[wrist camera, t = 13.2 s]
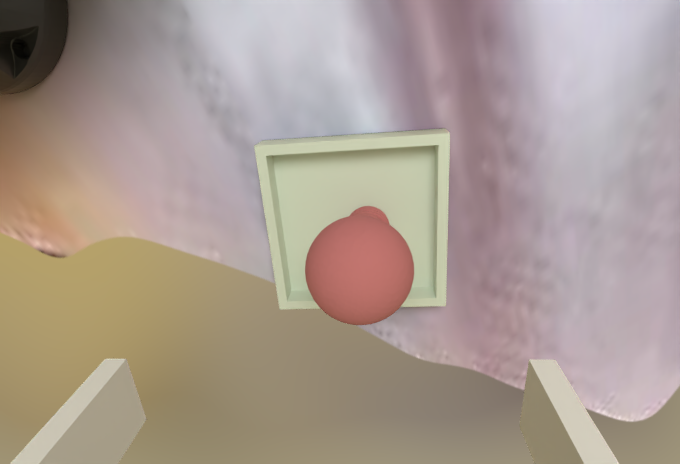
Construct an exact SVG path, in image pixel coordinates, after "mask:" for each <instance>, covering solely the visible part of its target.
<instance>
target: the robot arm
mask: <svg viewBox="0 0 680 464" xmlns="http://www.w3.org/2000/svg"><path fill="white" fill-rule="evenodd" d="M66 32H67V2H66V0H0V94H11V93H17V92H21V91H24V90H27V89H29V88H31V87H33V86H35V85H36V84H38V83H39V82H40V81H42V80H43V79H44V78H45V77H46V76H47V75H48V74H49V73H50V72H51V70H52V69H53V68H54V66H55V64H56V63H57V61H58V59H59V57H60V55H61V52H62V49H63V46H64V43H65V38H66ZM145 421H146V417H145V413H144V410H143V407H142V404H141V401H140V398H139V396H138V392H137V389H136V386H135V383H134V380H133V377H132V374H131V371H130V368H129V365H128V362H127V359H105V360H104V361H103V362H102V363H101V364H100V365H99V366H98V367H97V369H96V370H95V371H94V372H93V373H92V374H91V375H90V376H89V377H88V378H87V380H86V381H85V382H84V383H83V384H82V385H81V386H80V387H79V388H78V389H77V390H76V392H75V393H74V394H73V395H72V396H71V397H70V398H69V399H68V400H67V401H66V403H65V404H64V405H63V406H62V407H61V408H60V409H59V410H58V411H57V413H56V414H55V415H54V416H53V417H52V418H51V419H50V420H49V421H48V422H47V424H46V425H45V426H44V427H43V428H42V429H41V430H40V431H39V432H38V433H37V435H36V436H35V437H34V438H33V439H32V440H31V441H30V442H29V443H28V445H27V446H26V447H25V448H24V449H23V450H22V451H21V452H20V453H19V454H18V456H17V457H16V458H15V459H14V460H13V461H12V462H11V463H10V464H118V463H119V462H120V460H121V459H122V457H123V455H124V454H125V452H126V451H127V449H128V447H129V446H130V444H131V443H132V441H133V440H134V438H135V437H136V435H137V433H138V432H139V430H140V429H141V427H142V426H143V424H144V422H145ZM519 426H520V429H521V431H522V434H523V436H524V439H525V441H526V444H527V446H528V448H529V451H530V453H531V456H532V458H533V461H534V463H535V464H619V463H618V461H617V460H616V458H615V456H614V455H613V453H612V452H611V450H610V448H609V447H608V445H607V443H606V442H605V440H604V438H603V437H602V435H601V434H600V432H599V430H598V429H597V427H596V426H595V424H594V422H593V421H592V419H591V417H590V416H589V414H588V412H587V411H586V409H585V408H584V406H583V404H582V403H581V401H580V399H579V398H578V396H577V395H576V393H575V391H574V390H573V388H572V386H571V385H570V383H569V382H568V380H567V378H566V377H565V375H564V373H563V372H562V370H561V369H560V367H559V365H558V364H557V362H556V361H555V360H529V364H528V371H527V377H526V384H525V391H524V398H523V404H522V411H521V417H520V424H519Z"/></svg>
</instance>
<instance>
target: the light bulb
mask: <svg viewBox="0 0 680 464" xmlns="http://www.w3.org/2000/svg"><path fill="white" fill-rule="evenodd" d="M305 276H306V282H307V286H308V289H309V291H310V293H311V295H312V297H313V299H314V301H315V302H316V303H317V305H318V306H319V307H320V308H321V309H322V310H323V311H324V312H325V313H326V314H328V315H329V316H331V317H332V318H334V319H336V320H339V321H341V322H344V323H347V324H352V325H366V324H372V323H376V322H379V321H381V320H383V319H386V318H387V317H389V316H390V315H392V314H393V313H394V312H395V311H397V310H398V309H399V308H400V307H401V305H402V304H403V303H404V301H405V300H406V298H407V297H408V295H409V293H410V290H411V287H412V283H413V279H414V262H413V257H412V254H411V251H410V249H409V246H408V244H407V242H406V241H405V239H404V238H403V237H402V235H401V234H400V233H399V232H398V231H397V230H396V229H395V228H393V227H392V226H391V225H390V224H389V220H388V218H387V217H386V215H385V214H384V212H383V211H381V210H380V209H378V208H376V207H373V206H363V207H360V208H358V209H356V210H355V211H353V212H352V213H351V215H350V216H348V217H345V218H342V219H339V220H337V221H335V222H333V223H331V224H330V225H328V226H327V227H325V228H324V229H323V230H322V231H321V232H320V233H319V234H318V235H317V237H316V238H315V239H314V241H313V243H312V244H311V246H310V249H309V251H308V254H307V258H306V264H305Z"/></svg>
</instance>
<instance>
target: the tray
mask: <svg viewBox="0 0 680 464" xmlns="http://www.w3.org/2000/svg"><path fill="white" fill-rule="evenodd" d="M254 148H255V155H256V161H257V167H258V174H259V180H260V187H261V193H262V200H263V206H264V212H265V219H266V225H267V232H268V238H269V244H270V251H271V257H272V264H273V270H274V277H275V283H276V289H277V296H278V302H279V309H321V308H320V307H319V306H318V305H317V303H316V302H315V301H314V299H313V297H312V295H311V293H310V291H309V289H308V286H307V282H306V276H305V264H306V258H307V254H308V251H309V249H310V246H311V244H312V243H313V241H314V239H315V238H316V237H317V235H318V234H319V233H320V232H321V231H322V230H323V229H324V228H325V227H327V226H328V225H330V224H331V223H333V222H335V221H337V220H339V219H342V218H345V217H348V216H350V215H351V213H352V212H353V211H355V210H356V209H358V208H360V207H363V206H373V207H376V208H378V209H380V210H381V211H383V212H384V214H385V215H386V217H387V218H388V220H389V224H390V225H391V226H392V227H393V228H395V229H396V230H397V231H398V232H399V233H400V234H401V235H402V237H403V238H404V239H405V241H406V242H407V244H408V246H409V249H410V251H411V254H412V257H413V262H414V279H413V283H412V287H411V290H410V293H409V295H408V297H407V298H406V300H405V301H404V303H403V304H402V305H401V307H423V306H446V279H447V237H448V195H449V153H450V133H449V132H448V131H447V130H446V129H445V128H442V129H427V130H412V131H397V132H382V133H367V134H352V135H337V136H322V137H307V138H292V139H277V140H263V141H261V142H259V143H258V144H256V145H255V146H254Z"/></svg>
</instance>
